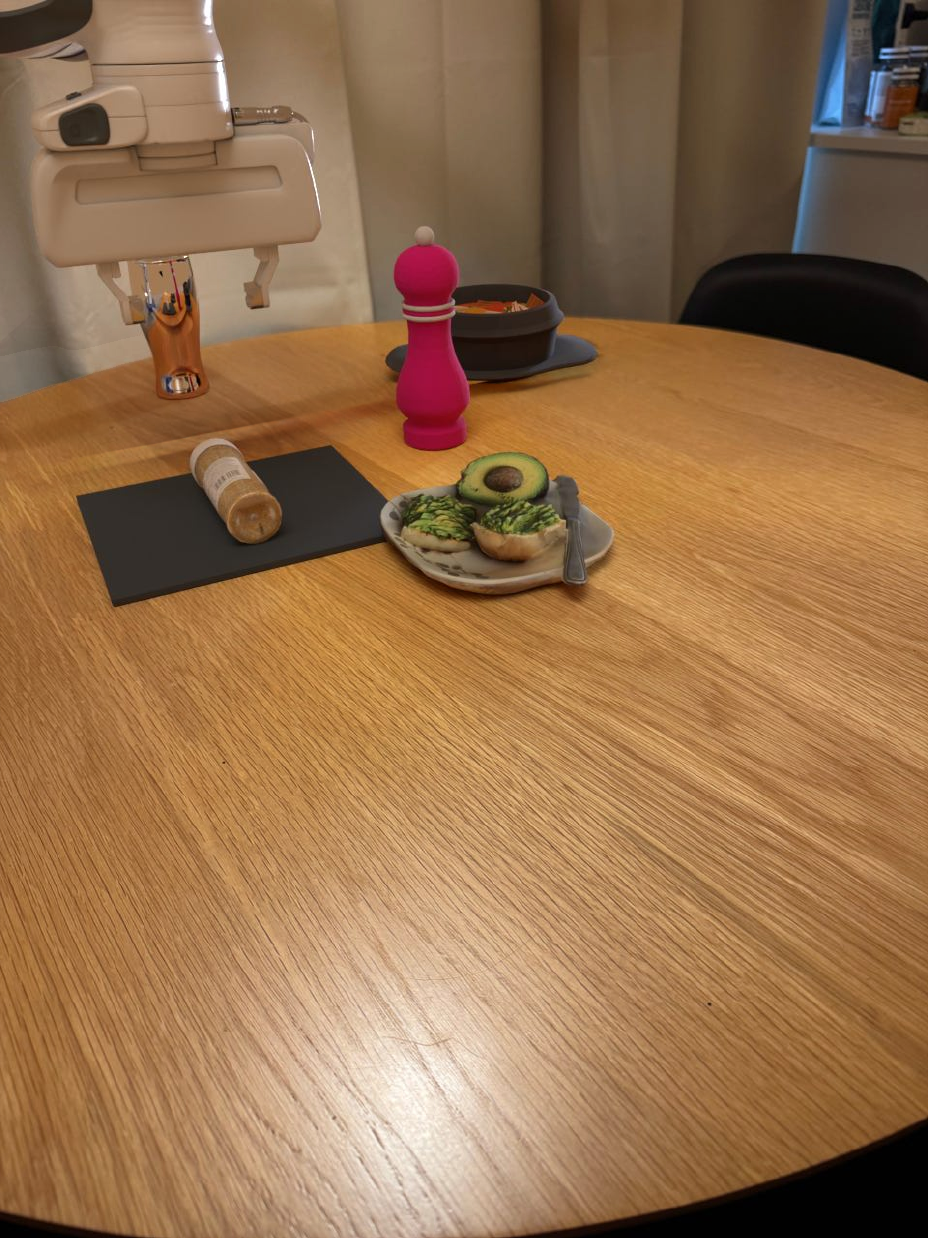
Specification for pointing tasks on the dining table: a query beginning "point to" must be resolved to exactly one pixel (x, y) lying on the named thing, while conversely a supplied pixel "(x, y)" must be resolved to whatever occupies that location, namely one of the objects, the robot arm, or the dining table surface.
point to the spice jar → (235, 491)
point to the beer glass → (171, 323)
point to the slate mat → (199, 538)
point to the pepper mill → (430, 347)
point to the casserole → (507, 334)
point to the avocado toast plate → (498, 528)
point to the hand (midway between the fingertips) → (197, 314)
